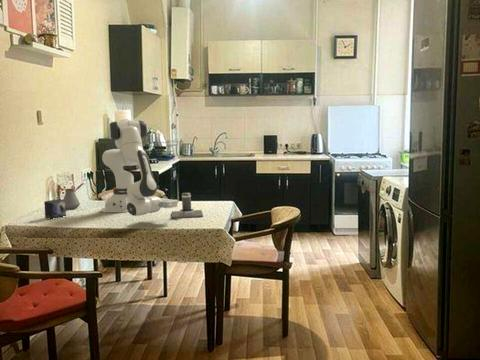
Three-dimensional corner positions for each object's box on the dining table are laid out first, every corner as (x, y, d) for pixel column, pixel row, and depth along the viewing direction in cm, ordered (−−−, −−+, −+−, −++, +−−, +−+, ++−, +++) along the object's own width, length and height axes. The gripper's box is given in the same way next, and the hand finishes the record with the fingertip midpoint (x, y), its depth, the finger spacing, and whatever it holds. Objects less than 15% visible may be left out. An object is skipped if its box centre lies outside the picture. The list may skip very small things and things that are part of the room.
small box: (51, 219, 285) (50, 202, 284) (44, 218, 289) (43, 201, 287) (66, 216, 294) (65, 199, 293) (59, 215, 297) (58, 198, 296)
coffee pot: (72, 210, 313) (71, 187, 310) (57, 209, 316) (56, 187, 314) (92, 204, 333) (91, 182, 331) (78, 203, 336) (76, 182, 334)
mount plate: (171, 218, 280) (171, 213, 280) (171, 213, 296) (171, 208, 295) (202, 217, 282) (202, 211, 282) (201, 211, 298) (201, 206, 298)
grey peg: (182, 214, 286) (181, 194, 284) (182, 212, 291) (181, 193, 290) (191, 214, 287) (190, 193, 285) (191, 212, 292) (190, 192, 290)
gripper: (166, 200, 261) (184, 196, 272) (140, 196, 273) (159, 193, 284) (166, 212, 262) (184, 207, 273) (141, 207, 274) (159, 203, 285)
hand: (171, 200), depth 279 cm, fingers open, 8 cm apart
